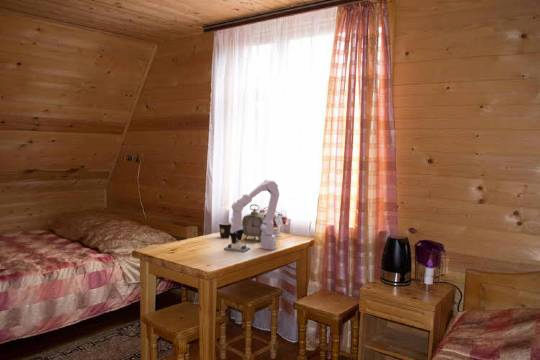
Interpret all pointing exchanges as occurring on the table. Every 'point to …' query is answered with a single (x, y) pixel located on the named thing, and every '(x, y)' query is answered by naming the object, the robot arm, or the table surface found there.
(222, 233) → the coffee mug
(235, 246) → the connector plug
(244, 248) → the board
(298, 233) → the table surface
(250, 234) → the tabletop clock
